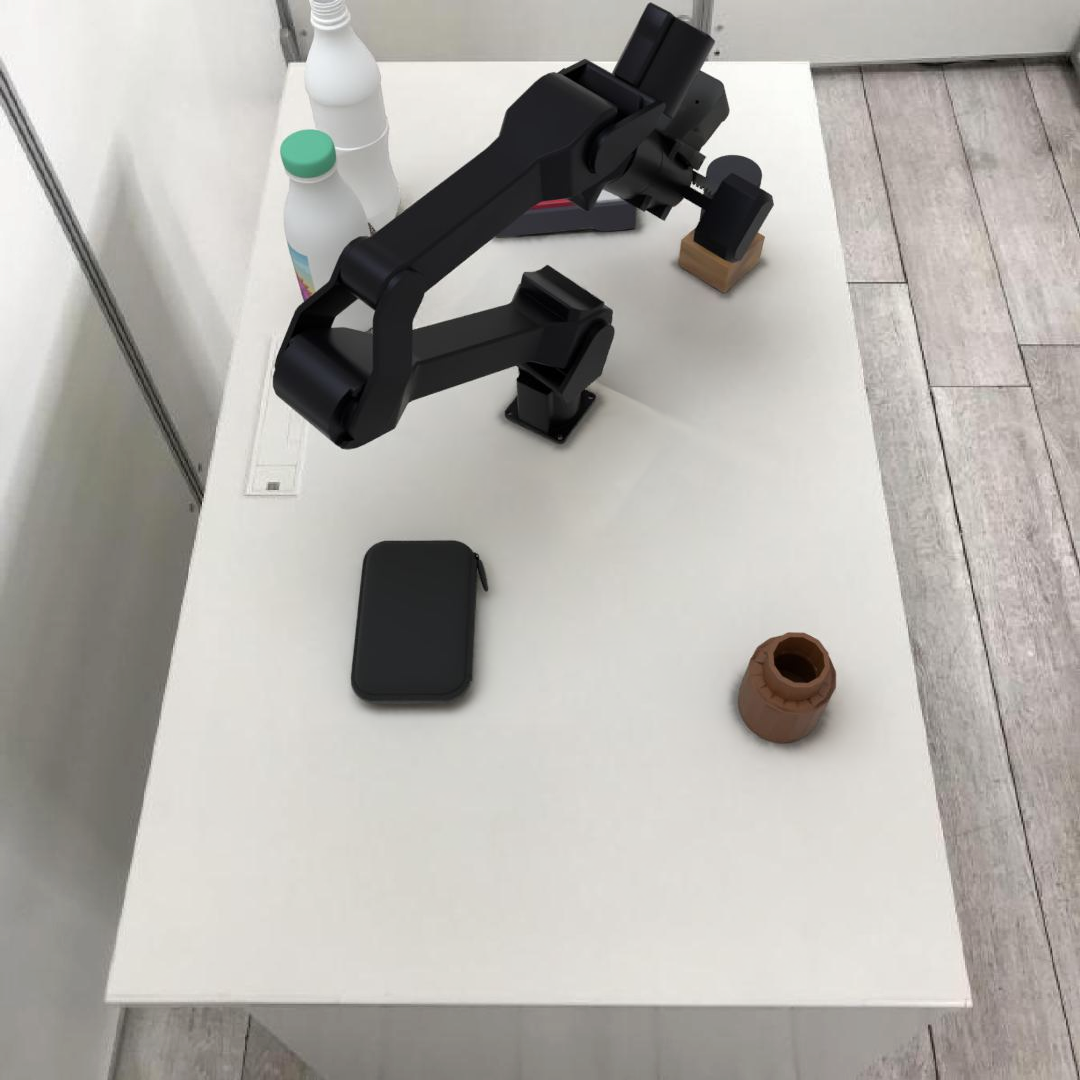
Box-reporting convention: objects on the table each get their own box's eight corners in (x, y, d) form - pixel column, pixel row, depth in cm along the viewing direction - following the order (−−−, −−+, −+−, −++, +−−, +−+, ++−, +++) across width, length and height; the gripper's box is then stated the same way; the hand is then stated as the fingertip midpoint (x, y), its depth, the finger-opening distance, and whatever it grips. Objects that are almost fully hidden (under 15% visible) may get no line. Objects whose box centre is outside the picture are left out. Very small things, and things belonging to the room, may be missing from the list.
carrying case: (485, 709, 85) (490, 550, 92) (483, 694, 82) (488, 531, 90) (351, 710, 85) (367, 551, 92) (345, 695, 82) (362, 532, 90)
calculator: (486, 140, 115) (625, 126, 114) (490, 172, 118) (625, 159, 118) (490, 211, 109) (637, 196, 109) (494, 242, 113) (636, 228, 112)
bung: (735, 263, 105) (747, 199, 98) (688, 244, 106) (696, 179, 99) (758, 231, 107) (771, 166, 100) (711, 213, 109) (722, 147, 102)
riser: (724, 293, 107) (728, 268, 104) (677, 265, 110) (680, 239, 107) (759, 262, 110) (765, 236, 107) (713, 234, 112) (717, 208, 109)
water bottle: (393, 245, 112) (353, 23, 90) (327, 236, 113) (273, 14, 91) (411, 199, 115) (377, -26, 94) (347, 191, 116) (299, -34, 95)
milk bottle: (391, 285, 109) (359, 117, 92) (377, 342, 105) (342, 178, 88) (317, 280, 109) (271, 112, 92) (301, 337, 105) (250, 173, 88)
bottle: (798, 758, 82) (821, 716, 75) (723, 717, 84) (739, 672, 77) (832, 692, 85) (857, 646, 78) (759, 654, 87) (777, 605, 80)
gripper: (781, 113, 78) (834, 161, 92) (590, 13, 85) (666, 71, 98) (701, 251, 82) (764, 278, 95) (525, 144, 89) (607, 183, 102)
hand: (700, 198), depth 98 cm, fingers open, 9 cm apart
